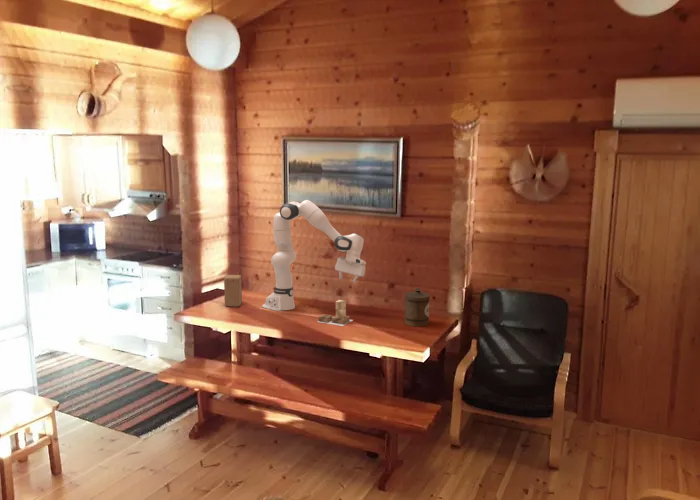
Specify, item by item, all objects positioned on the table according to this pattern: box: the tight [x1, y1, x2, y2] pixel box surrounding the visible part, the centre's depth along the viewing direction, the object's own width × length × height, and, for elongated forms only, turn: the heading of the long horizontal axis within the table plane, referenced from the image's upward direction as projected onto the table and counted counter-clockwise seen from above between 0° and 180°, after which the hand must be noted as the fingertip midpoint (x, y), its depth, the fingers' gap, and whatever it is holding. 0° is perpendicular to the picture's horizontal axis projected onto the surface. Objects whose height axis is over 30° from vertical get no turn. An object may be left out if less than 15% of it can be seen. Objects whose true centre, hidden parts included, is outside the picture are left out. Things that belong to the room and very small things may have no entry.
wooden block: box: [223, 274, 243, 308], centre depth 402 cm, size 10×10×20 cm
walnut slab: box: [332, 315, 351, 325], centre depth 363 cm, size 8×8×3 cm
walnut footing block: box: [318, 313, 333, 323], centre depth 365 cm, size 6×6×3 cm
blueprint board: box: [316, 319, 354, 327], centre depth 365 cm, size 18×14×1 cm
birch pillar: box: [335, 299, 347, 318], centre depth 362 cm, size 4×4×10 cm
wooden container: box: [404, 287, 431, 327], centre depth 364 cm, size 15×15×22 cm
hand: (347, 280), depth 375 cm, fingers open, 8 cm apart
